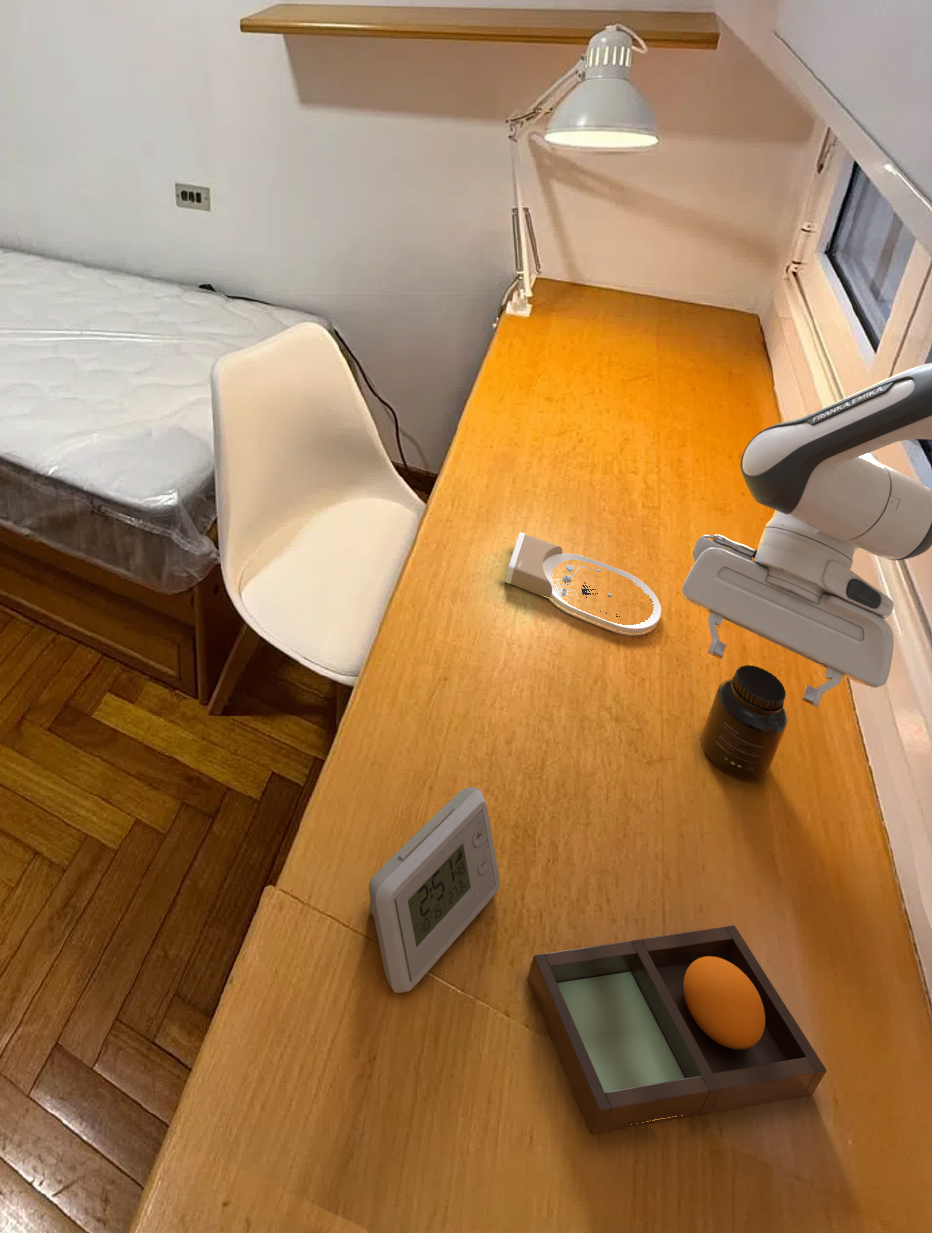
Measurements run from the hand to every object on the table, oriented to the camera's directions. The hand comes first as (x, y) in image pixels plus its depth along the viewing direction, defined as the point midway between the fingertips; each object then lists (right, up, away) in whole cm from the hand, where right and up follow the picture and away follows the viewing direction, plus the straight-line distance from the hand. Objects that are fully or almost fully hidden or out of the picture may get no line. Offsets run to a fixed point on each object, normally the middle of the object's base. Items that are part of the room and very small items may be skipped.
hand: (760, 679), depth 94 cm
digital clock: (-42, -16, -15) cm, 48 cm away
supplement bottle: (-2, -10, +1) cm, 10 cm away
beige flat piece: (-9, 0, +24) cm, 26 cm away
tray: (-24, -20, -23) cm, 38 cm away
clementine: (-19, -16, -24) cm, 34 cm away
